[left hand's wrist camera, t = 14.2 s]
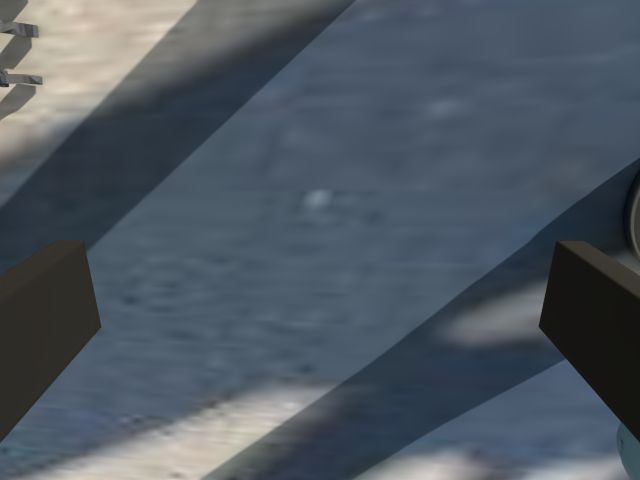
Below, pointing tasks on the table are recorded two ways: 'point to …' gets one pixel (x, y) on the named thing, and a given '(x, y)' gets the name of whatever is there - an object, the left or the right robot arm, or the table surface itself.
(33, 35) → the toy
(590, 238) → the table surface
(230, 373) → the table surface
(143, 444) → the table surface
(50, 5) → the table surface
